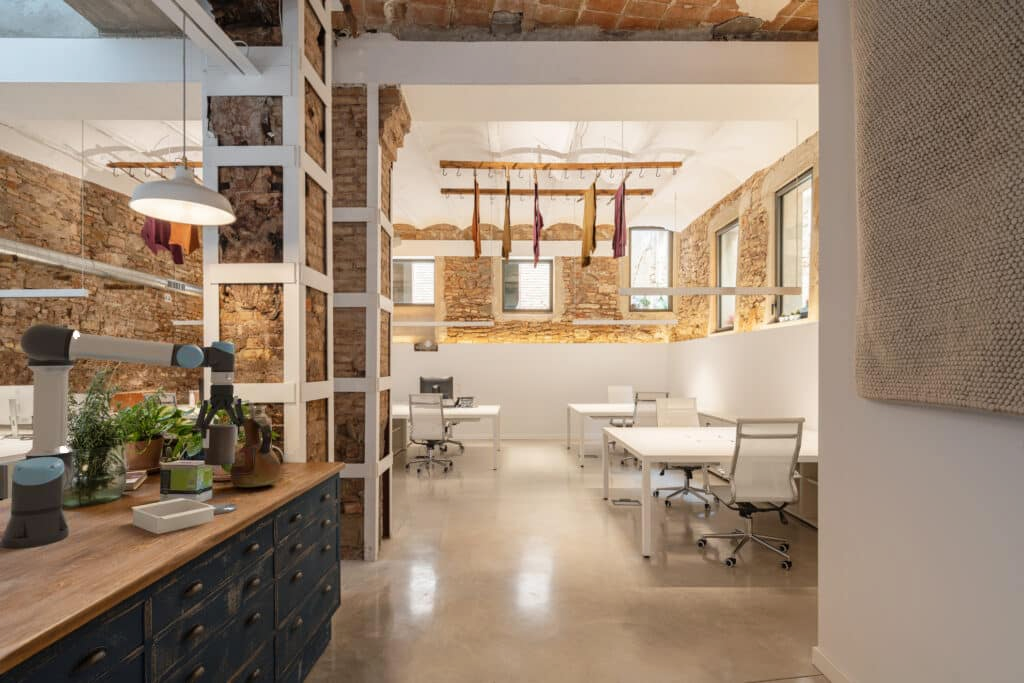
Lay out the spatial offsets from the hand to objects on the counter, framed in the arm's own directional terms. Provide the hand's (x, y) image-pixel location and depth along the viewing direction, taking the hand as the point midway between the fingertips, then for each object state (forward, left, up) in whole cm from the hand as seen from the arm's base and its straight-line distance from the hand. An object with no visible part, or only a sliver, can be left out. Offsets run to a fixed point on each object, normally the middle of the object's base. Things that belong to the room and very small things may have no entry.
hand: (220, 446), depth 201 cm
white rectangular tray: (-17, -4, -23) cm, 29 cm away
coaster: (0, 0, -23) cm, 23 cm away
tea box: (0, +23, -23) cm, 33 cm away
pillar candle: (0, 0, -6) cm, 6 cm away
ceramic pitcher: (+29, +24, -23) cm, 44 cm away
